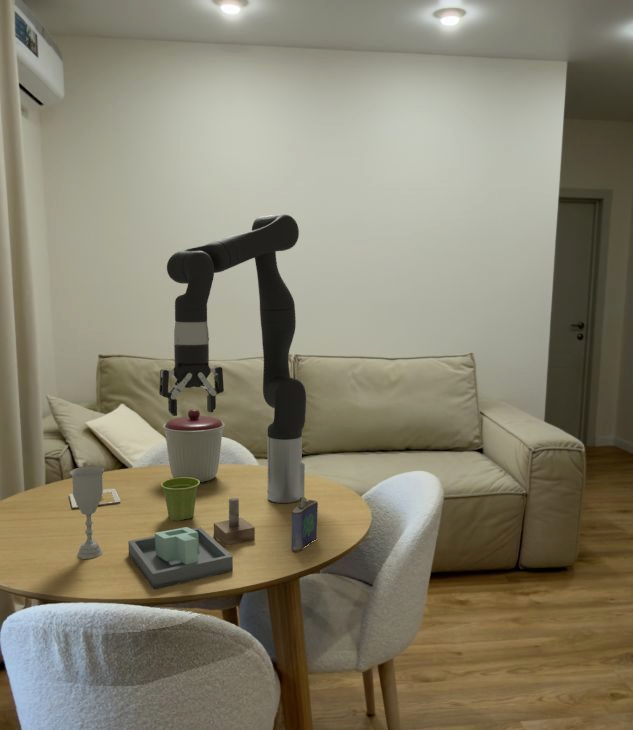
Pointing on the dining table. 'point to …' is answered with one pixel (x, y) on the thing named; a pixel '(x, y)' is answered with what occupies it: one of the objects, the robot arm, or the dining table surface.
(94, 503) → the chalice
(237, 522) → the brown peg stand
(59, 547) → the dining table surface
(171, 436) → the canister
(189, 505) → the plant pot
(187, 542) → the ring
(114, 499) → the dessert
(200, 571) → the tray
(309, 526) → the flask
